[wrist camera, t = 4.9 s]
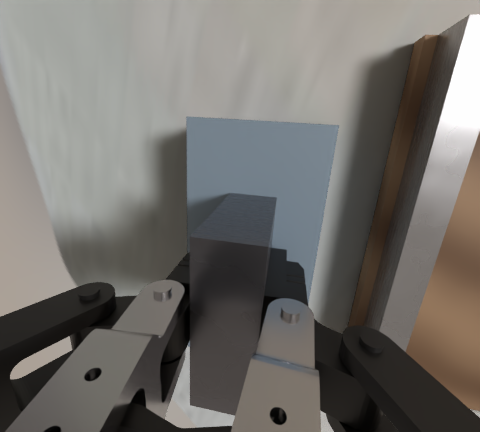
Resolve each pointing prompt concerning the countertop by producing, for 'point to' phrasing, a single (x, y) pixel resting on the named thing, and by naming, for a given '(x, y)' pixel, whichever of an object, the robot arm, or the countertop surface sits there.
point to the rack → (431, 217)
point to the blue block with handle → (246, 236)
